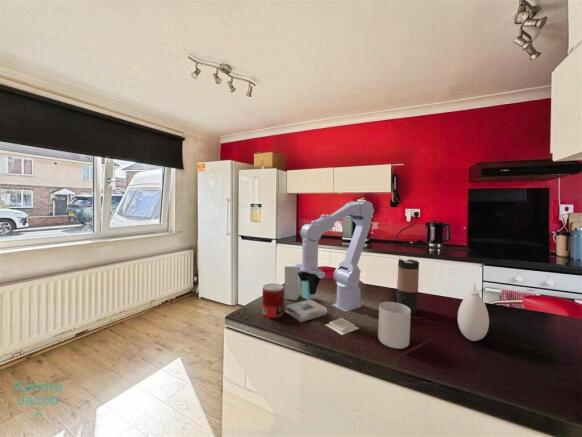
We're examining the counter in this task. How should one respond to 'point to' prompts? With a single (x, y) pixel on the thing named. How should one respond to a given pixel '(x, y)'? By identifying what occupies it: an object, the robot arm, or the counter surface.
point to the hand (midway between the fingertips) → (309, 292)
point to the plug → (306, 290)
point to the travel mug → (408, 283)
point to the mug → (394, 325)
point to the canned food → (273, 300)
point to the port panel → (302, 314)
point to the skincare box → (292, 282)
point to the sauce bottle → (473, 316)
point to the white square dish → (342, 326)
